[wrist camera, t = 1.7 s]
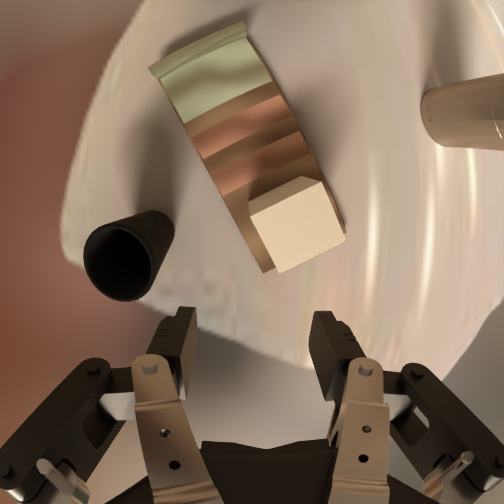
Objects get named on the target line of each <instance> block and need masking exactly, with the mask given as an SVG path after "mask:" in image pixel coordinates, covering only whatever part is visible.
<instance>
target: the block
mask: <svg viewBox="0 0 504 504" xmlns="http://www.w3.org/2000/svg"><path fill="white" fill-rule="evenodd" d="M248 204H249V213H250V218H251V220H252V222H253V224H254V226H255V227H256V229H257V231H258V233H259V235H260V237H261V239H262V241H263V243H264V245H265V247H266V249H267V251H268V252H269V254H270V256H271V258H272V260H273V262H274V264H275V266H276V268H277V270H278V272H279V273H281V272H283V271H285V270H288V269H290V268H292V267H294V266H296V265H298V264H300V263H302V262H304V261H306V260H308V259H310V258H312V257H314V256H316V255H318V254H320V253H322V252H324V251H326V250H328V249H330V248H332V247H334V246H336V245H338V244H340V243H342V242H344V241H346V239H345V237H344V234H343V231H342V229H341V226H340V224H339V221H338V219H337V217H336V214H335V212H334V209H333V207H332V205H331V202H330V200H329V198H328V195H327V193H326V191H325V188H324V186H323V184H322V182H321V181H317V180H314V179H311V178H307V177H303V176H300V177H298V178H295V179H293V180H291V181H289V182H287V183H285V184H283V185H281V186H279V187H277V188H275V189H273V190H271V191H269V192H267V193H265V194H263V195H261V196H259V197H257V198H255V199H253V200H251V201H249V202H248Z"/></svg>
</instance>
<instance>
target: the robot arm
mask: <svg viewBox="0 0 504 504" xmlns="http://www.w3.org/2000/svg"><path fill="white" fill-rule="evenodd" d="M421 114H422V119H423V123H424V125H425V128H426V130H427V132H428V133H429V135H430V136H431V137H432V139H433V140H434V141H435V142H437V143H438V144H440V145H441V146H445V147H460V148H475V149H489V150H499V151H504V73H502V74H497V75H492V76H486V77H481V78H476V79H471V80H467V81H462V82H458V83H454V84H449V85H445V86H441V87H437V88H434V89H431V90H429V91H428V92H427V93H426V94H425V95H424V97H423V99H422V103H421ZM197 342H198V333H197V314H196V307H184V306H179V308H178V310H177V313H176V315H175V317H174V316H167V317H166V318H164V319H163V320H162V321H161V322H160V324H159V326H158V328H157V330H156V332H155V335H154V337H153V339H152V341H151V343H150V346H149V348H148V350H147V352H146V355H142V356H140V357H138V358H137V359H135V360H134V361H133V363H132V365H131V367H126V368H113V369H111V367H110V364H109V363H108V362H107V361H106V360H104V359H101V358H89V359H86V360H84V361H82V362H81V363H80V364H79V365H78V366H77V367H76V368H75V369H74V370H73V371H72V372H71V373H70V374H69V375H68V376H67V377H66V378H65V379H64V380H63V381H62V382H61V383H60V384H59V385H58V386H57V387H56V388H55V389H54V390H53V391H52V393H51V394H50V395H49V396H48V397H47V398H46V399H45V400H44V401H43V402H42V403H41V404H40V405H39V406H38V407H37V408H36V410H35V411H34V412H33V413H32V414H31V415H30V416H29V417H28V418H27V419H26V420H25V421H24V423H23V424H22V425H21V426H20V427H19V428H18V429H17V430H16V432H15V433H14V434H13V435H12V436H11V437H10V438H9V439H8V440H7V442H6V443H5V444H4V445H3V446H2V447H1V449H0V489H1V490H3V491H4V492H5V493H6V494H8V495H9V497H10V498H11V499H13V500H14V501H15V502H17V503H18V504H88V500H89V496H90V492H89V489H88V487H87V485H86V482H87V480H88V478H89V477H90V475H91V473H92V472H93V471H94V469H95V467H96V466H97V465H98V463H99V461H100V460H101V458H102V457H103V455H104V454H105V452H106V451H107V449H108V448H109V446H110V444H111V443H112V442H113V440H114V439H115V437H116V436H117V434H118V433H119V431H120V429H121V428H122V426H123V425H124V423H125V422H126V420H133V419H136V422H137V427H138V432H139V438H140V443H141V448H142V452H143V457H144V461H145V465H146V469H147V473H148V475H147V476H146V477H144V478H143V479H141V480H140V481H139V482H137V483H136V484H134V485H133V486H131V487H130V488H128V489H127V490H125V491H124V492H122V493H121V494H119V495H118V496H116V497H114V498H113V499H111V500H110V501H108V502H106V503H105V504H473V503H474V502H476V501H477V500H478V499H480V498H481V497H482V496H484V495H485V494H486V493H487V492H489V491H490V490H491V489H492V488H494V487H495V486H496V485H497V484H499V483H500V482H501V481H502V480H503V479H504V445H503V444H502V443H501V442H500V441H499V440H498V439H497V437H496V436H495V435H494V434H493V433H492V432H491V431H490V430H489V429H488V428H487V427H486V426H485V425H484V424H483V423H482V422H481V421H480V420H479V419H478V418H477V417H476V416H475V415H474V414H473V413H472V412H471V411H470V410H469V408H467V406H466V405H464V403H463V402H461V400H459V398H458V397H457V396H456V395H454V393H452V391H450V390H449V389H448V388H447V387H446V386H445V385H444V384H443V383H442V382H441V381H440V380H439V379H438V378H437V377H436V376H435V375H434V374H433V373H432V372H431V371H430V370H429V369H428V368H427V367H425V366H423V365H421V364H418V363H408V364H406V365H405V366H404V367H403V368H402V370H401V372H390V371H384V370H383V368H382V366H381V365H380V364H379V363H378V362H377V361H375V360H373V359H370V358H367V357H366V356H365V354H364V352H363V350H362V349H361V347H360V345H359V343H358V341H356V338H355V336H354V335H353V333H352V331H351V329H350V328H349V326H347V325H346V324H345V323H344V322H342V321H337V320H336V319H335V317H334V315H333V313H332V311H315V312H314V315H313V320H312V326H311V331H310V336H309V352H310V355H311V358H312V361H313V364H314V367H315V371H316V374H317V377H318V380H319V383H320V386H321V390H322V393H323V396H324V399H325V401H332V400H334V402H335V406H334V408H333V412H332V416H331V421H330V425H329V430H328V434H327V438H326V439H318V440H308V441H298V442H294V443H291V444H287V445H283V446H279V447H275V448H272V449H262V448H256V447H251V446H247V445H242V444H237V443H231V442H212V441H202V446H201V449H198V446H197V443H196V441H195V439H194V436H193V433H192V430H191V428H190V425H189V422H188V420H187V416H186V414H185V411H184V408H183V405H182V402H181V400H180V399H183V400H186V398H187V393H188V388H189V383H190V378H191V373H192V369H193V364H194V359H195V355H196V350H197ZM416 406H417V407H418V409H419V410H420V411H421V412H422V413H423V414H424V415H425V417H427V419H428V421H429V429H428V428H427V427H426V426H425V425H424V424H423V422H422V421H421V420H420V419H419V418H418V416H417V415H416V414H415V413H414V412H413V411H414V410H415V408H416ZM389 435H391V436H392V438H393V439H394V441H395V442H396V443H397V445H398V446H399V447H400V449H401V450H402V452H403V453H404V454H405V456H406V457H407V458H408V460H409V461H410V463H411V464H412V465H413V467H414V468H415V469H416V471H417V472H418V473H419V475H420V476H421V477H422V479H423V480H424V482H423V491H422V493H420V492H418V491H417V490H415V489H413V488H411V487H409V486H408V485H406V484H404V483H402V482H401V481H399V480H397V479H396V478H394V477H392V476H390V475H389V474H387V471H388V457H389Z"/></svg>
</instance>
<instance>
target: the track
mask: <svg viewBox="0 0 504 504" xmlns="http://www.w3.org/2000/svg"><path fill="white" fill-rule="evenodd" d="M148 69H149V70H150V72H151V74H152V75H153V76H155V77H156V78H157V79H158V80H159V82H160V84H161V86H162V87H163V89H164V91H165V93H166V95H167V97H168V98H169V100H170V102H171V104H172V106H173V108H174V110H175V111H176V113H177V115H178V117H179V119H180V121H181V123H182V124H183V126H184V128H185V130H186V132H187V134H188V136H189V137H190V139H191V141H192V143H193V145H194V147H195V149H196V150H197V152H198V154H199V156H200V158H201V160H202V161H203V163H204V165H205V167H206V169H207V171H208V173H209V174H210V176H211V178H212V180H213V182H214V184H215V186H216V187H217V189H218V191H219V193H220V195H221V197H222V199H223V200H224V202H225V204H226V206H227V208H228V210H229V211H230V213H231V215H232V217H233V219H234V221H235V223H236V224H237V226H238V228H239V230H240V232H241V234H242V236H243V237H244V239H245V241H246V243H247V245H248V247H249V248H250V250H251V252H252V254H253V256H254V258H255V260H256V261H257V263H258V265H259V267H260V269H261V271H262V272H263V273H265V272H267V271H269V270H271V269H273V268H275V267H276V266H275V264H274V262H273V260H272V258H271V256H270V254H269V252H268V251H267V249H266V247H265V245H264V243H263V241H262V239H261V237H260V235H259V233H258V231H257V229H256V227H255V226H254V224H253V222H252V220H251V218H250V213H249V204H248V202H249V201H251V200H253V199H255V198H257V197H259V196H261V195H263V194H265V193H267V192H269V191H271V190H273V189H275V188H277V187H279V186H281V185H283V184H285V183H287V182H289V181H291V180H293V179H295V178H298V177H300V176H303V177H307V178H311V179H314V180H317V181H321V182H322V184H323V186H324V188H325V191H326V193H327V195H328V198H329V200H330V202H331V205H332V207H333V209H334V212H335V214H336V217H337V219H338V221H339V224H340V226H341V229H342V231H343V234H344V233H346V229H345V227H344V224H343V222H342V219H341V217H340V214H339V212H338V209H337V207H336V205H335V202H334V200H333V198H332V195H331V193H330V191H329V188H328V186H327V184H326V181H325V179H324V177H323V175H322V173H321V170H320V168H319V166H318V164H317V162H316V160H315V158H314V155H313V153H312V151H311V149H310V147H309V145H308V143H307V141H306V139H305V137H304V135H303V133H302V131H301V129H300V127H299V125H298V123H297V121H296V119H295V118H294V116H293V114H292V112H291V110H290V108H289V106H288V104H287V103H286V101H285V99H284V97H283V95H282V94H281V92H280V90H279V88H278V87H277V85H276V83H275V81H274V80H273V78H272V76H271V74H270V73H269V71H268V69H267V68H266V66H265V64H264V63H263V61H262V60H261V58H260V56H259V55H258V53H257V52H256V50H255V48H254V47H253V45H252V44H251V42H250V41H249V39H248V38H247V26H246V24H245V23H244V21H242V22H239V23H236V24H234V25H231V26H229V27H226V28H224V29H221V30H219V31H217V32H214V33H212V34H210V35H208V36H206V37H203V38H201V39H199V40H197V41H195V42H193V43H191V44H189V45H187V46H185V47H183V48H181V49H179V50H177V51H175V52H174V53H172V54H170V55H168V56H166V57H165V58H163V59H161V60H159V61H158V62H156V63H154V64H153V65H151V66H149V67H148Z"/></svg>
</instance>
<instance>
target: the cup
mask: <svg viewBox="0 0 504 504" xmlns="http://www.w3.org/2000/svg"><path fill="white" fill-rule="evenodd" d="M173 239H174V227H173V224H172V222H171V220H170V219H169V218H168V216H166V215H165V214H164V213H161V212H159V211H148V212H144V213H141V214H137V215H134V216H131V217H127V218H124V219H121V220H118V221H115V222H112V223H108V224H105V225H103V226H100V227H98V228H97V229H96V230H94V231H93V232H92V233H91V234H90V236H89V237H88V239H87V241H86V244H85V247H84V254H83V259H84V266H85V269H86V272H87V275H88V277H89V278H90V280H91V282H92V283H93V284H94V286H95V287H96V288H97V289H98V290H99V291H100V292H101V293H103V294H104V295H105V296H107V297H109V298H111V299H113V300H117V301H121V302H130V301H134V300H138V299H139V298H141V297H143V296H144V295H145V294H146V293H147V292H148V291H149V290H150V288H151V286H152V284H153V282H154V280H155V278H156V276H157V274H158V271H159V269H160V267H161V265H162V263H163V260H164V258H165V256H166V254H167V252H168V250H169V248H170V246H171V243H172V241H173Z"/></svg>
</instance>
